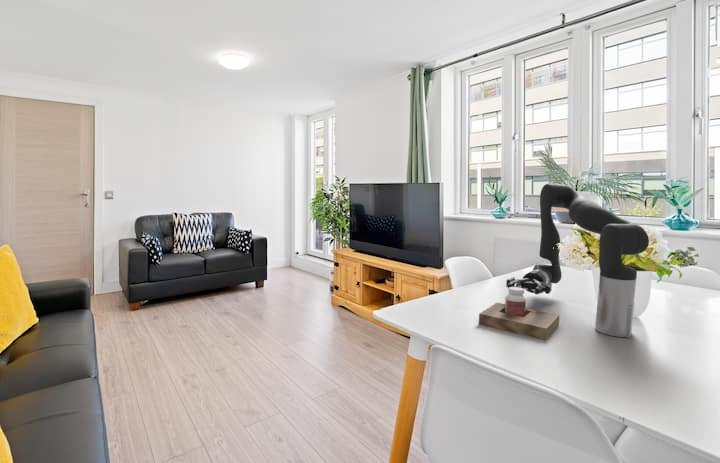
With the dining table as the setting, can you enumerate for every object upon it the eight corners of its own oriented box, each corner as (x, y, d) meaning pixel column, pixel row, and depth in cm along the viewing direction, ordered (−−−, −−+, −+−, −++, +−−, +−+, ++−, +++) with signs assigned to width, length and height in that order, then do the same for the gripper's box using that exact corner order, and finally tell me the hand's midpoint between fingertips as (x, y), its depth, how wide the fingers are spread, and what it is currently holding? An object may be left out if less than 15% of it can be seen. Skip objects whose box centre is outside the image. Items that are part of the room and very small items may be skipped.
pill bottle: (528, 324, 124) (530, 290, 123) (510, 325, 124) (512, 291, 122) (517, 318, 131) (520, 285, 129) (500, 318, 130) (502, 286, 128)
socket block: (558, 325, 124) (559, 314, 124) (546, 340, 112) (546, 328, 111) (496, 312, 137) (496, 302, 136) (478, 324, 124) (479, 313, 124)
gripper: (516, 268, 148) (502, 275, 135) (557, 273, 139) (546, 281, 127) (515, 287, 149) (501, 296, 136) (556, 294, 140) (544, 304, 128)
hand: (522, 289), depth 132 cm, fingers open, 8 cm apart
